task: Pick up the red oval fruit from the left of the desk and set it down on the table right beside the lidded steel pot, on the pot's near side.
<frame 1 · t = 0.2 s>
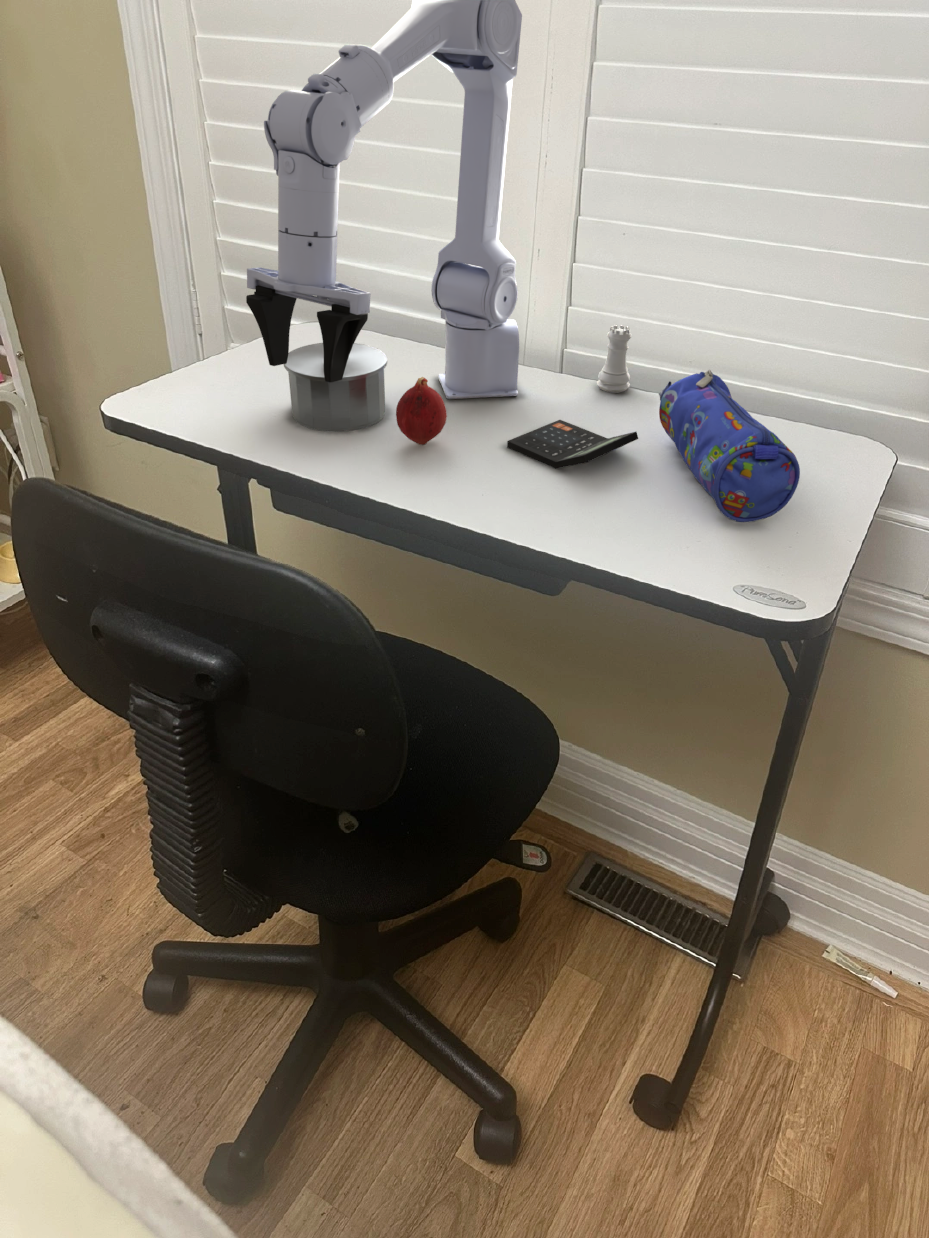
hand: (305, 372, 95), 10 cm above the table, tool pointing down, fingers open, 7 cm apart
pot: (338, 413, 112), on the table
rook chess piece: (612, 388, 122), on the table
pencil case: (714, 481, 100), on the table
calculator: (570, 453, 105), on the table
red oval fruit: (421, 446, 105), on the table
pot lid: (335, 362, 109), point 6 cm above the table, touching pot
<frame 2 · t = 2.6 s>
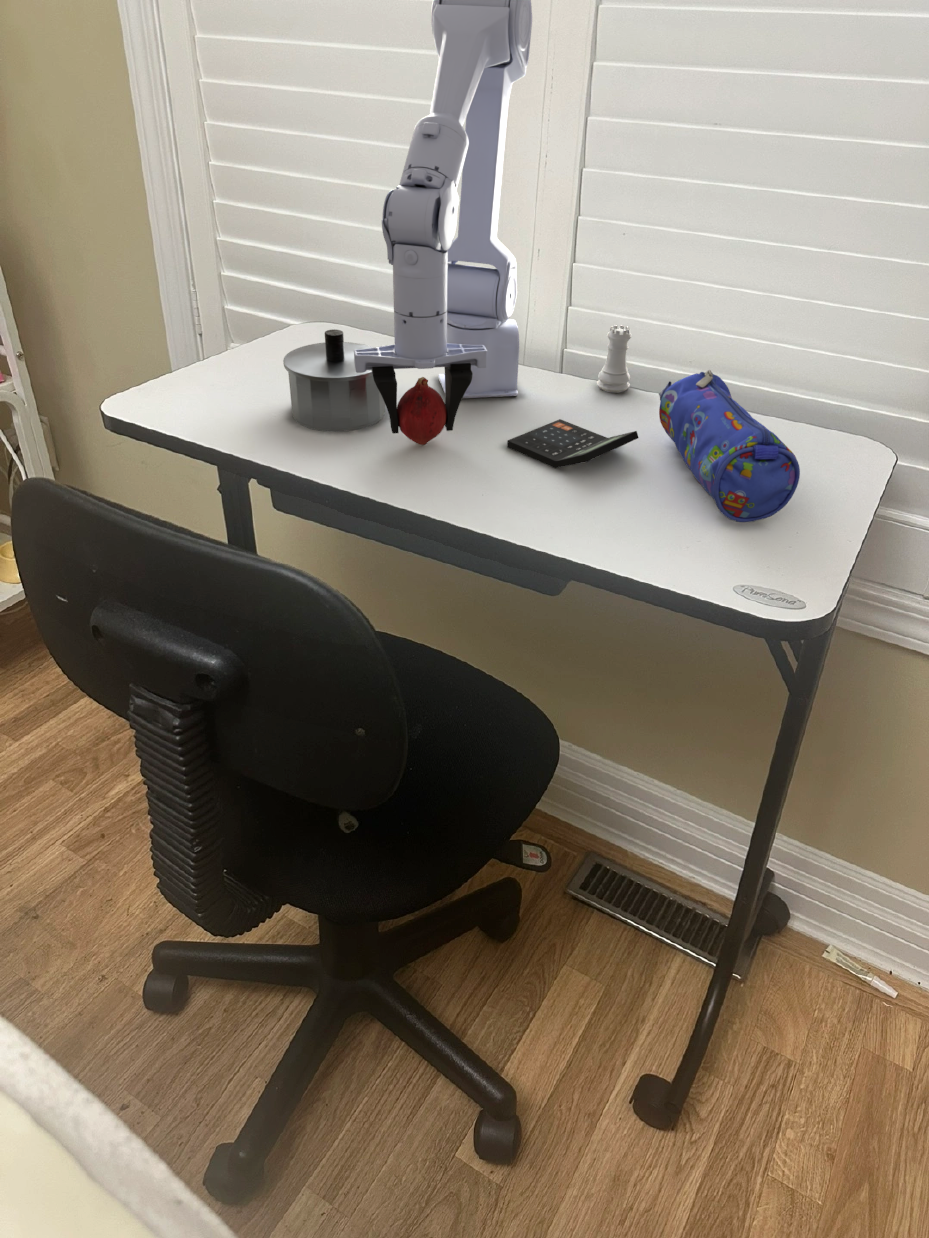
hand: (421, 428, 104), 2 cm above the table, tool pointing down, fingers closed on red oval fruit, 6 cm apart
red oval fruit: (421, 446, 105), on the table, touching gripper
everything else where it was.
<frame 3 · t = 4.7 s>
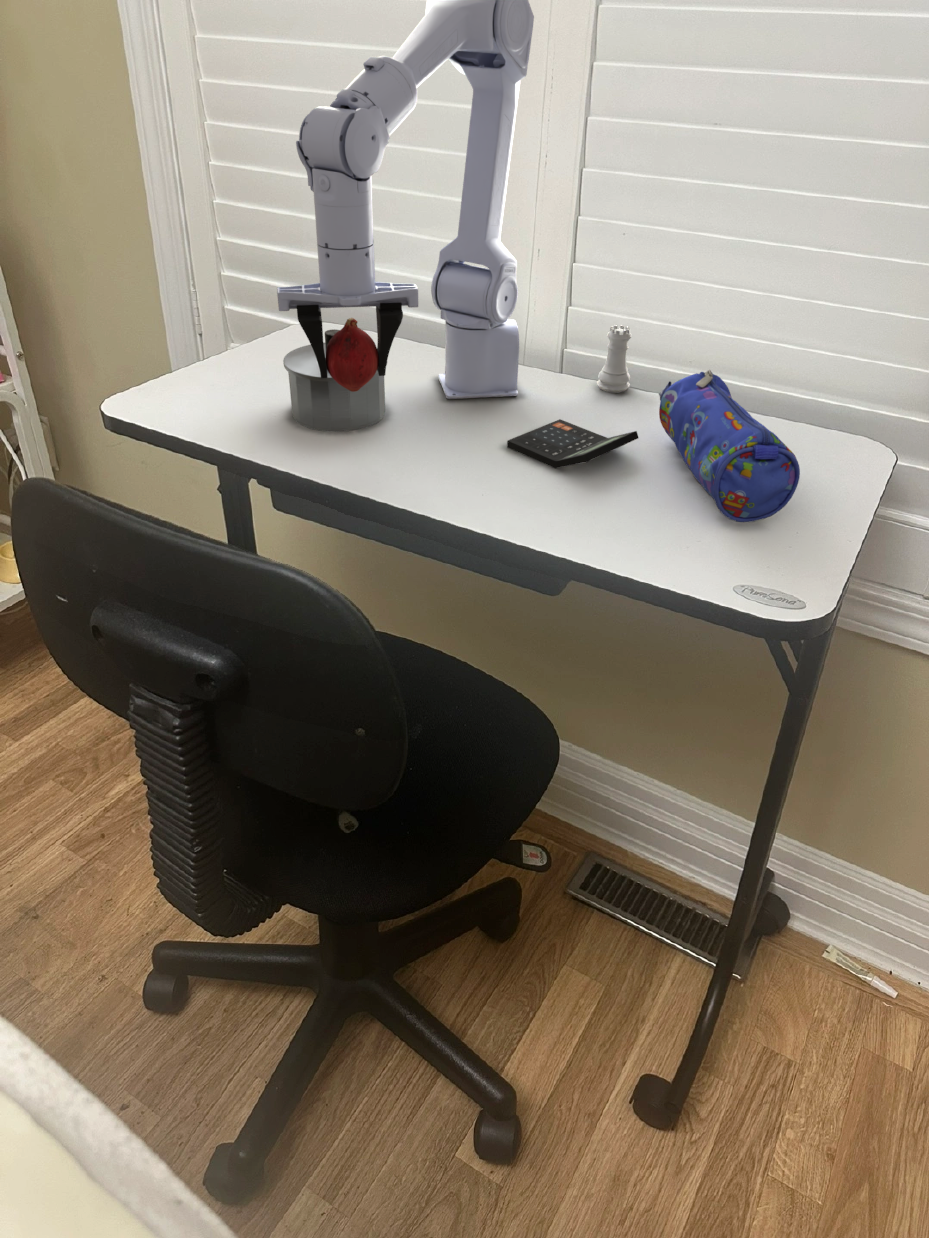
hand: (352, 374, 99), 9 cm above the table, tool pointing down, fingers closed on red oval fruit, 6 cm apart
red oval fruit: (353, 393, 100), point 7 cm above the table, touching gripper
everything else where it was.
when the fingers open (2 cm above the table, at t = 7.1 s): red oval fruit stays where it is, on the table.
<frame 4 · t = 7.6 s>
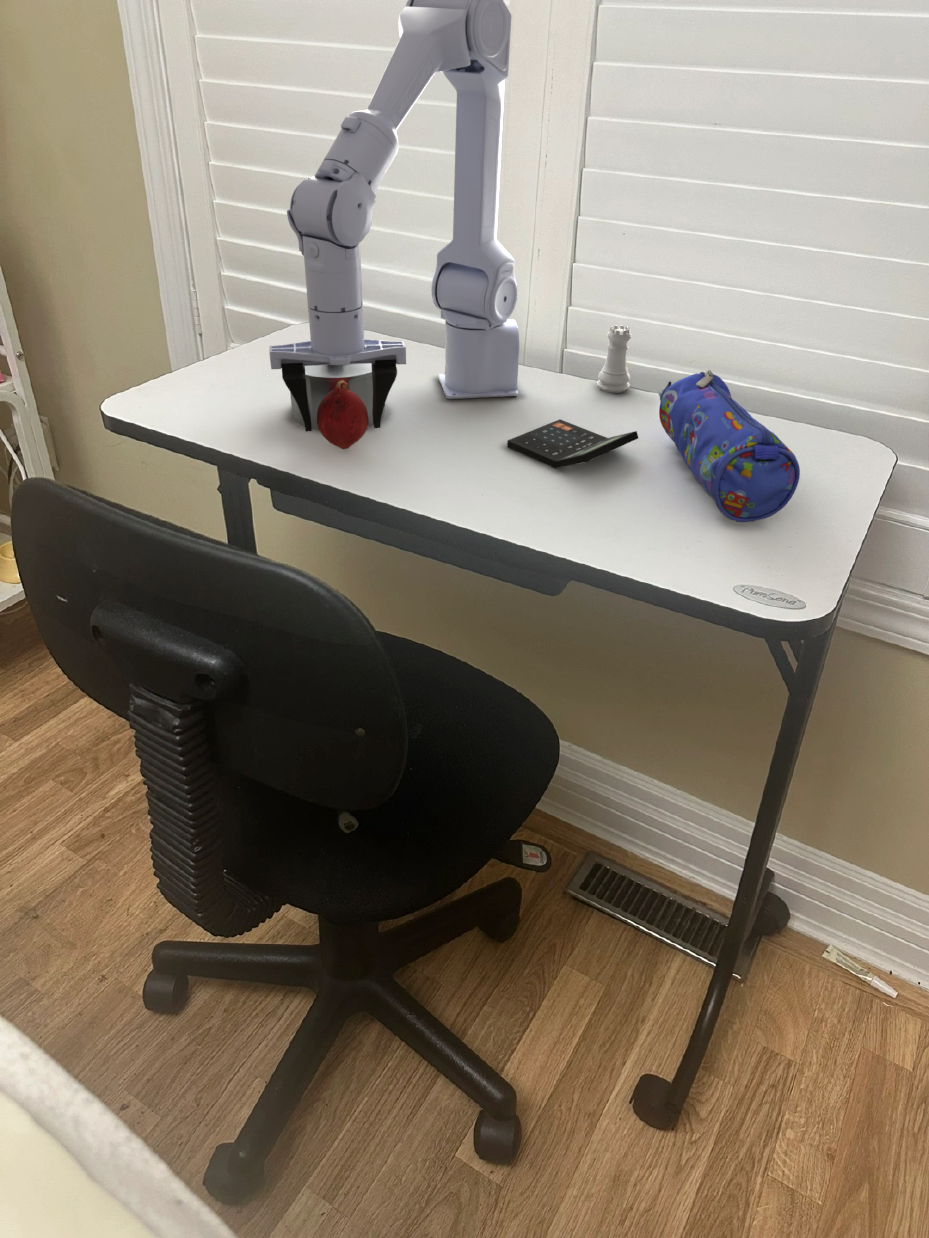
hand: (342, 426, 102), 3 cm above the table, tool pointing down, fingers open, 7 cm apart
red oval fruit: (344, 450, 104), on the table
everything else where it was.
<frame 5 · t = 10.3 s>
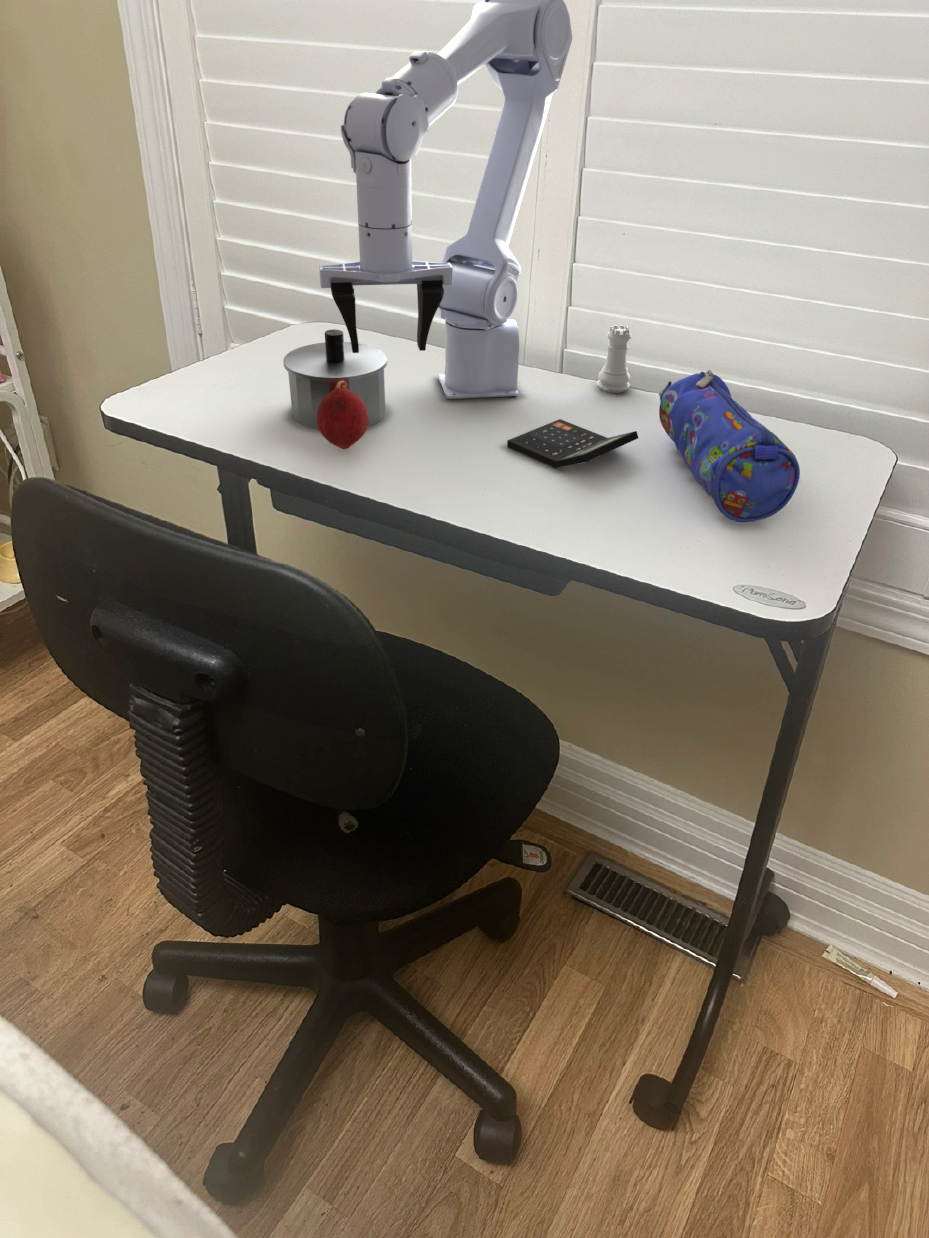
hand: (388, 349, 104), 9 cm above the table, tool pointing down, fingers open, 7 cm apart
nothing on the table moved.
at the end: red oval fruit inside the target area on the table beside the pot (0.2 cm from its centre), on the table; red oval fruit moved 9.0 cm from its start; the gripper is holding nothing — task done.
